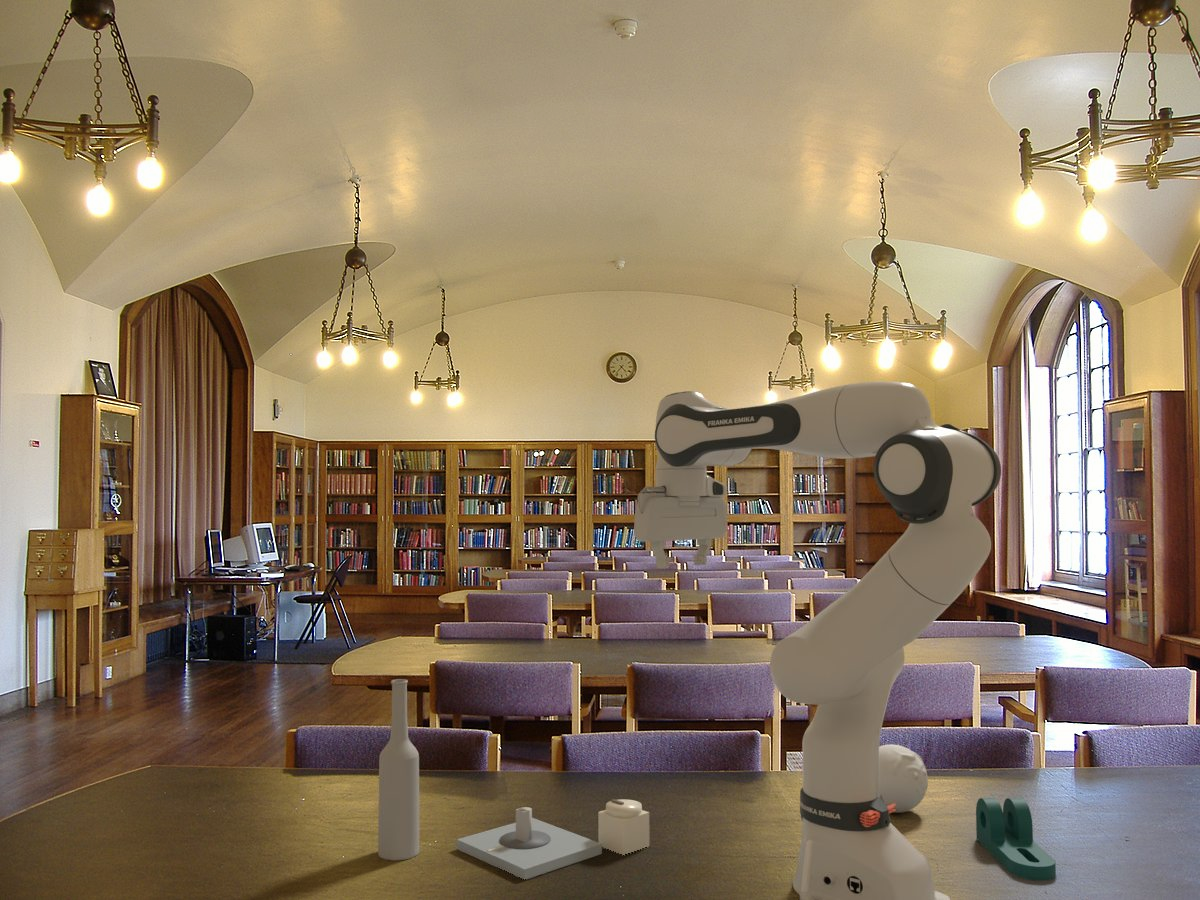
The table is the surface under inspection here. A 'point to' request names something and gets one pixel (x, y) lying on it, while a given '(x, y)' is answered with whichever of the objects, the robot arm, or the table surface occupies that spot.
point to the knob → (623, 826)
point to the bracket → (1012, 838)
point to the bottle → (398, 786)
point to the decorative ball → (901, 777)
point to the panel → (529, 846)
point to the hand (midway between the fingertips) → (681, 566)
